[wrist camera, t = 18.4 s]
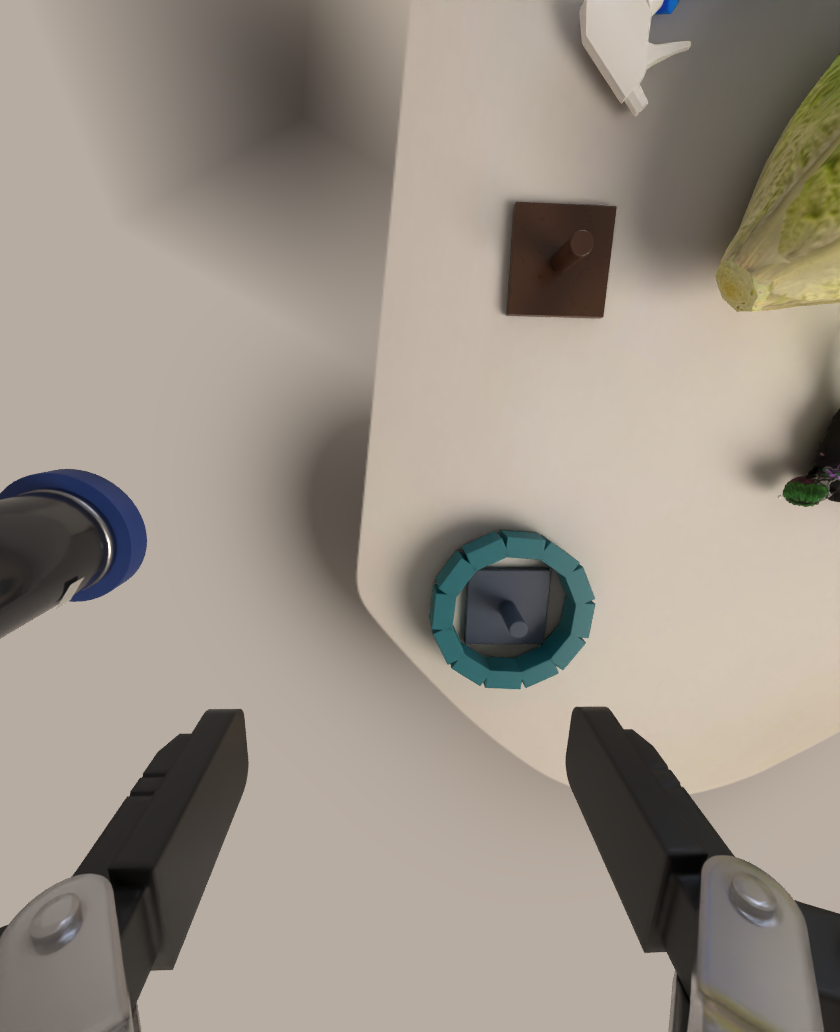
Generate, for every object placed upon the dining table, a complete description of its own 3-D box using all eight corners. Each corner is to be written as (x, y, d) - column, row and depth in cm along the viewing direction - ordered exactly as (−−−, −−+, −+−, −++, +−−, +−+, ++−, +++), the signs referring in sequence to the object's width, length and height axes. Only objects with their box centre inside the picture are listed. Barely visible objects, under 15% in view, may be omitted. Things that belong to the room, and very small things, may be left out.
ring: (423, 670, 41) (425, 685, 39) (439, 524, 38) (443, 531, 35) (567, 676, 42) (577, 692, 40) (594, 537, 39) (607, 544, 37)
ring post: (506, 315, 34) (521, 303, 29) (513, 205, 32) (531, 174, 28) (600, 318, 34) (629, 306, 30) (613, 209, 32) (646, 179, 28)
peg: (464, 641, 41) (471, 669, 37) (468, 567, 39) (476, 588, 35) (541, 640, 42) (558, 668, 37) (549, 567, 40) (567, 588, 35)
